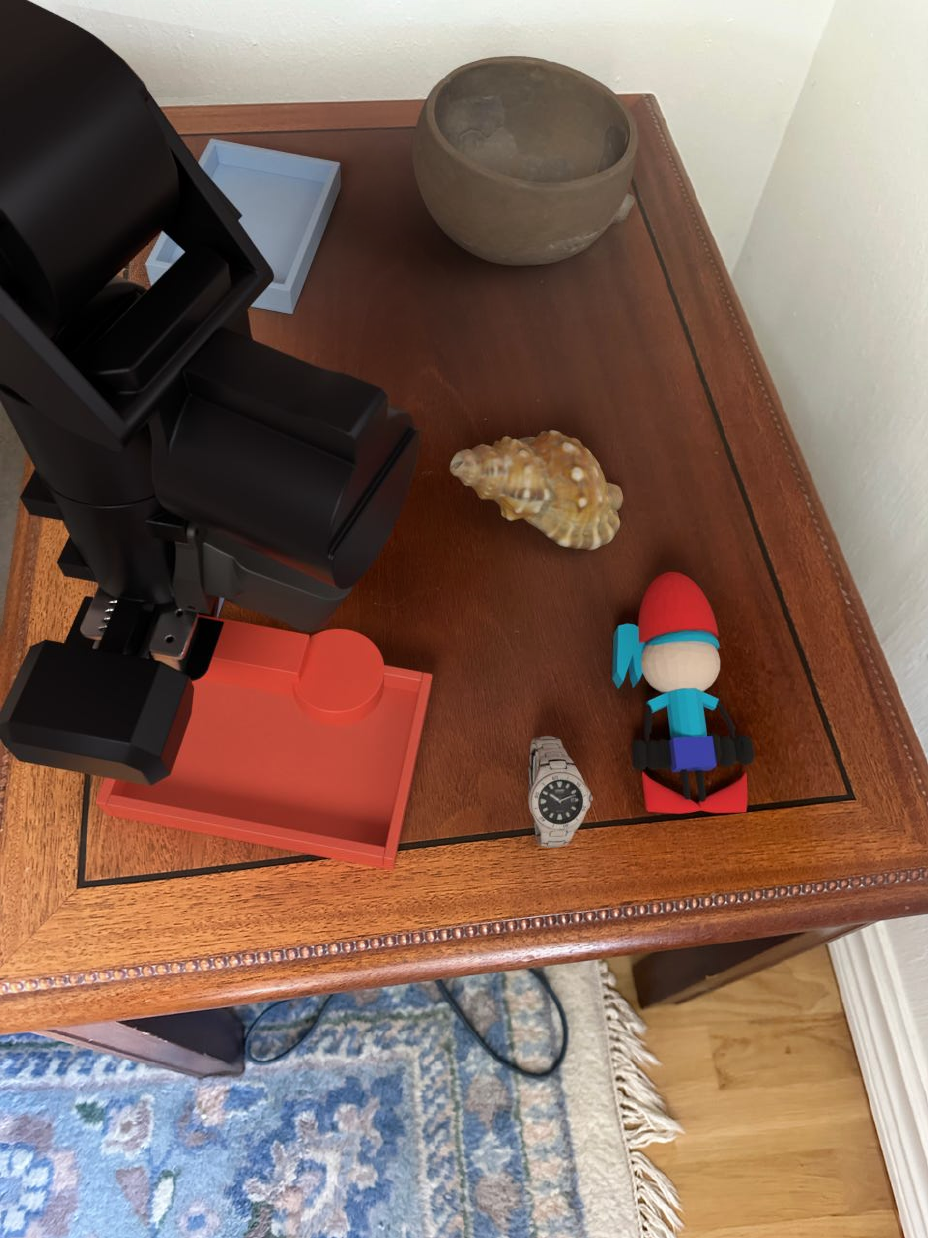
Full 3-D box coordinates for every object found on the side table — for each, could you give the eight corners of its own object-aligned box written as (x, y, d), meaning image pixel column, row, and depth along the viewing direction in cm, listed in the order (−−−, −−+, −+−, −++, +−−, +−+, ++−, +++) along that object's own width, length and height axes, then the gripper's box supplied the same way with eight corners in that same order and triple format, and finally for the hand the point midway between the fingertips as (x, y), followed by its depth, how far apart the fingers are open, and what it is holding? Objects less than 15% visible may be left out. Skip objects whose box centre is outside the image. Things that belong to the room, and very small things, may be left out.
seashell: (524, 598, 63) (465, 517, 55) (493, 517, 68) (434, 432, 60) (645, 537, 61) (602, 445, 53) (604, 458, 66) (559, 363, 58)
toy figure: (749, 815, 55) (714, 585, 60) (776, 804, 50) (736, 556, 55) (625, 821, 54) (600, 590, 59) (641, 811, 50) (613, 561, 55)
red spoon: (138, 690, 45) (124, 665, 42) (168, 611, 47) (157, 583, 45) (373, 734, 45) (373, 712, 42) (392, 653, 47) (393, 627, 44)
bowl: (654, 234, 79) (689, 123, 70) (520, 330, 71) (540, 220, 63) (508, 139, 83) (524, 24, 75) (368, 220, 76) (368, 103, 68)
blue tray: (292, 314, 70) (289, 290, 68) (151, 287, 70) (144, 263, 68) (341, 186, 78) (340, 162, 76) (214, 163, 78) (210, 137, 76)
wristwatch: (522, 855, 51) (536, 830, 46) (511, 752, 54) (523, 719, 49) (583, 853, 51) (602, 827, 47) (569, 750, 54) (586, 717, 50)
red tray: (106, 815, 50) (94, 802, 48) (172, 640, 55) (165, 622, 53) (393, 870, 50) (394, 860, 48) (430, 690, 55) (433, 673, 53)
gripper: (274, 728, 27) (308, 863, 40) (399, 300, 36) (393, 527, 49) (-96, 659, 27) (63, 817, 40) (125, 250, 36) (194, 490, 49)
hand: (196, 648), depth 45 cm, fingers closed on red spoon, 2 cm apart
